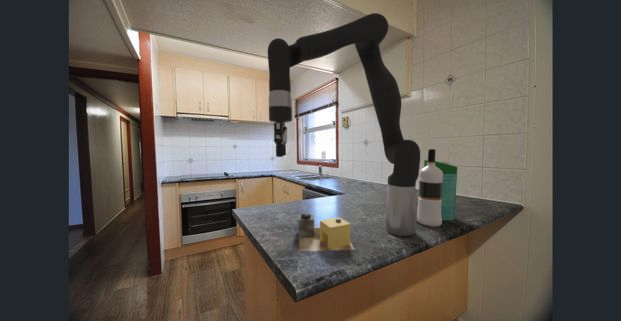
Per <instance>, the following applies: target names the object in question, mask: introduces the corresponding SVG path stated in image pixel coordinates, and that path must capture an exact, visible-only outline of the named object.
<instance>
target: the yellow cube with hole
mask: <svg viewBox="0 0 621 321" xmlns="http://www.w3.org/2000/svg"><path fill="white" fill-rule="evenodd" d="M319 221H320V222H319V226H320V241H321V242H326V241H328V248H329V249H335V248H339V247H343V246H347V245H350V242H351V223H350V222H348V221H346V220H345V219H343V218H341V217H333V218H327V219H321V220H319Z"/></svg>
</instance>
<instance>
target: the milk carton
mask: <svg viewBox="0 0 621 321" xmlns="http://www.w3.org/2000/svg"><path fill="white" fill-rule="evenodd" d="M423 162H424V165H423V166H424V167H426V166H427V164H428V159H424V160H423ZM435 166H436V167H437V168H439V169H440V170H441V171H442V172H443V179H442V180H443V182H442V195H441V200H442V202H441V218H442V221H455V218H456V216H455V212H456V199H457V198H456V196H457V180H458V166H455V165H452V164H451V162H449V161H446V160H440V159H439V160H438V161H437V160H435ZM424 167H423V168H424Z"/></svg>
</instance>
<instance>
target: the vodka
mask: <svg viewBox="0 0 621 321" xmlns="http://www.w3.org/2000/svg"><path fill="white" fill-rule="evenodd" d="M427 150H428V151H427V160H428V164H427V166H426V167H422V168H421V169H419V176H418V197H417V223H418V224H420V225H423V226H425V227H432V228H433V227H436V228H437V227H440V226H441V225H442V224H443V220H442V218H441V202H442V200H441V195H442V182H443V180H442V179H443V172H442V171H441V170H440V169H439V168H437V167H436V166H435V161H436V149H435V148H430V149H427Z"/></svg>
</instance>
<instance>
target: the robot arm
mask: <svg viewBox="0 0 621 321" xmlns="http://www.w3.org/2000/svg"><path fill="white" fill-rule="evenodd" d="M388 32H389V22H388V19H387V18H386V17H385V16H384V15H383V14H381V13H379V12H378V13H377V12H376V13H375V12H374V13H370V14H366V15H364V16H362V17H359V18H357V19H356V20H354V21H351V22H348V23H346V24H343V25H341V26H337V27H335V28H332V29H328V30H325V31H321V32H318V33H313V34H309V35H305V36H301V37H298V38H297V39H296V40H295V42H294V43H292V44H290V45H289V44H288V42H287V41H286V40H284V39H283V38H279V37H278V38H274V39H272V40H271V41H270V42H269V44H268V47H267V61H268V71H269V72H268V73H269V78H268V79H269V81H268V88H269V89H268V91H269V94H268V121H269V122H271V123H273V142H274V144H275V157H277V158H282V157H284V156H286V155H287V147H286V146H287V145H288V144H287V143H288V127H287V126H286V123H291V122H292V121H293V103H292V101H293V98H292V84H291V83H292V82H291V68H292V67H295V66H297V65H299V64H301V63H303V62H306V61H311V60H315V59H319V58H323V57H326V56H328V55H330V54H332V53H335V52H336V51H338V50H340V49H343V48H345V47H348V46H350V45H354V46H355V49H356V52H357V54H358V58H359V59H360V62H361V65H362V67H363V71H364V74H365V78H366V81H367V85H368V89H369V94H370V97H371V100H372V105H373V108H374V111H375V115H376V118H377V119H376V120H377V122H378V126H379V129H380V132H381V138H382V144H383V145H382V146H383V151H384V155H385V157H386V160H387V161H388V162H389V163H390V164H392V165H393V170H392V173H391V174H390V175H389V176H388V177H387V188H386V189H387V190H386V191H387V193H386V196H387V197H386V218H385V220H386V222H385V223H386V226H385V230H386V231H387V233H389V234H392V235H395V236H397V237H398V236H399V237H410V236H413V235H417V223H418V222H417V210H418V206H416V205H415V204H416V185H417V181H418V179H419V171H420V164H421V149H420V146H419V145H418V143H417V142H416V141H414V140H413V139H404V137H403V133H402V129H401V112H402V96H401V93H400V89H399V85H398V82H397V79H396V78H395V77H394V75H393V74H392V73H391V71H390V70H389V69H388V68H387V66H386V65H385V62H384V61H383V58H382V55H381V49H380V44H381V43H382V42H383V41H384V39H385V38H386V37H387V34H388Z"/></svg>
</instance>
